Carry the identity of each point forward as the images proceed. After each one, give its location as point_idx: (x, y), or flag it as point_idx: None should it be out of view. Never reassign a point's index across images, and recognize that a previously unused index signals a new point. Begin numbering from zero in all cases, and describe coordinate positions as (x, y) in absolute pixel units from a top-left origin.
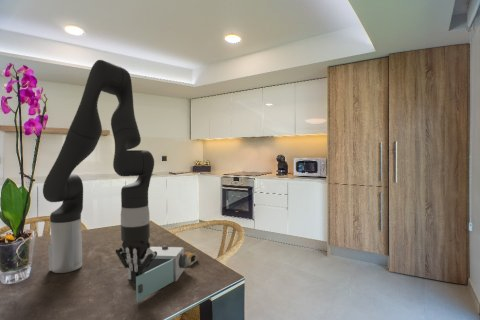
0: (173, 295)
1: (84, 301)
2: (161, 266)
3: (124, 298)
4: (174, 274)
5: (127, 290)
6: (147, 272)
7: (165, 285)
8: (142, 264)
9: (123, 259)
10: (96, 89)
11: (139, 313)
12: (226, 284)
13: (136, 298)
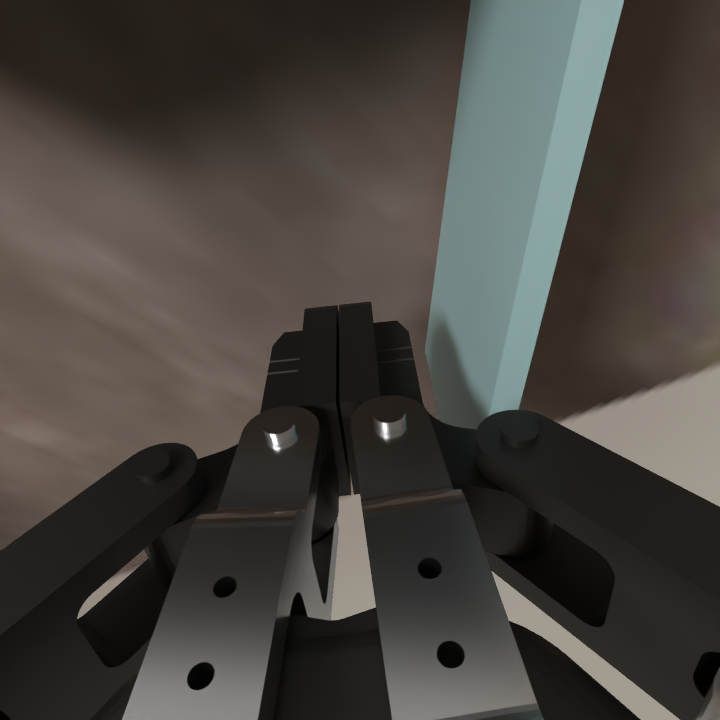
0: (692, 56)
1: (24, 464)
2: (607, 25)
3: (249, 321)
4: None
5: (126, 203)
6: (523, 387)
7: None
8: (561, 608)
9: (119, 684)
10: None
11: (534, 411)
12: None
13: (429, 368)
